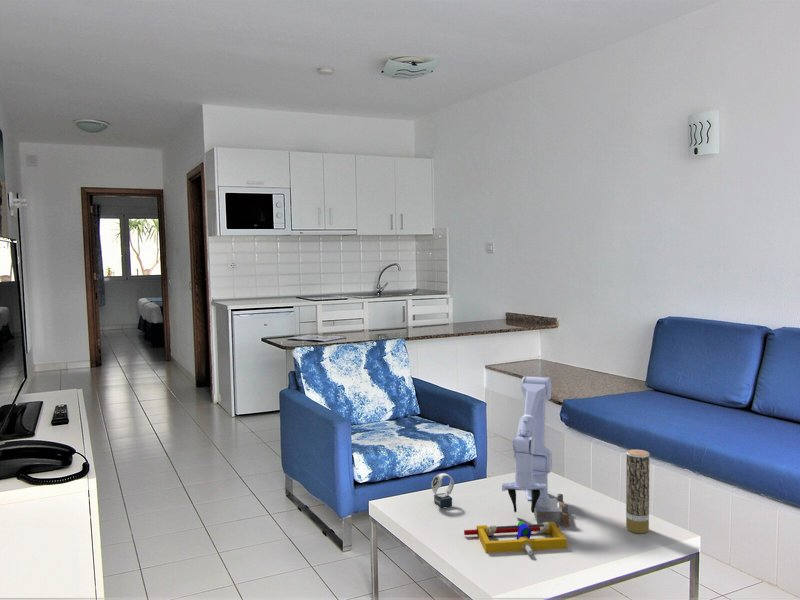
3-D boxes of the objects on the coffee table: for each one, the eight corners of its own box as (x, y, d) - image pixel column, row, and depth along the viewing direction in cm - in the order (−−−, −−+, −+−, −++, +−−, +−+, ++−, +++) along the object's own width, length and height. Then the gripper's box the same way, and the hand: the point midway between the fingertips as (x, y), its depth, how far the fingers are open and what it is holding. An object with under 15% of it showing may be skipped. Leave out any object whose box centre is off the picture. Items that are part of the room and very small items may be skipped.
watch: (429, 504, 239) (428, 473, 238) (449, 500, 242) (449, 470, 241) (435, 509, 234) (435, 478, 233) (456, 505, 237) (456, 475, 236)
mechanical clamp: (463, 516, 212) (556, 511, 215) (463, 535, 213) (556, 530, 215) (474, 541, 194) (576, 535, 197) (474, 562, 195) (575, 556, 197)
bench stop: (556, 509, 232) (556, 492, 232) (562, 509, 232) (562, 492, 232) (562, 526, 217) (562, 508, 217) (569, 526, 217) (569, 508, 217)
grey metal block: (532, 509, 233) (532, 498, 232) (556, 509, 232) (556, 498, 232) (536, 523, 221) (536, 511, 220) (561, 523, 220) (561, 511, 220)
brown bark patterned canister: (653, 530, 213) (653, 453, 211) (640, 536, 209) (640, 457, 207) (634, 523, 219) (635, 448, 217) (621, 529, 215) (622, 452, 213)
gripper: (502, 475, 221) (502, 515, 222) (547, 475, 220) (547, 516, 221) (501, 468, 228) (501, 507, 229) (544, 468, 227) (544, 508, 228)
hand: (524, 511), depth 226 cm, fingers open, 5 cm apart
